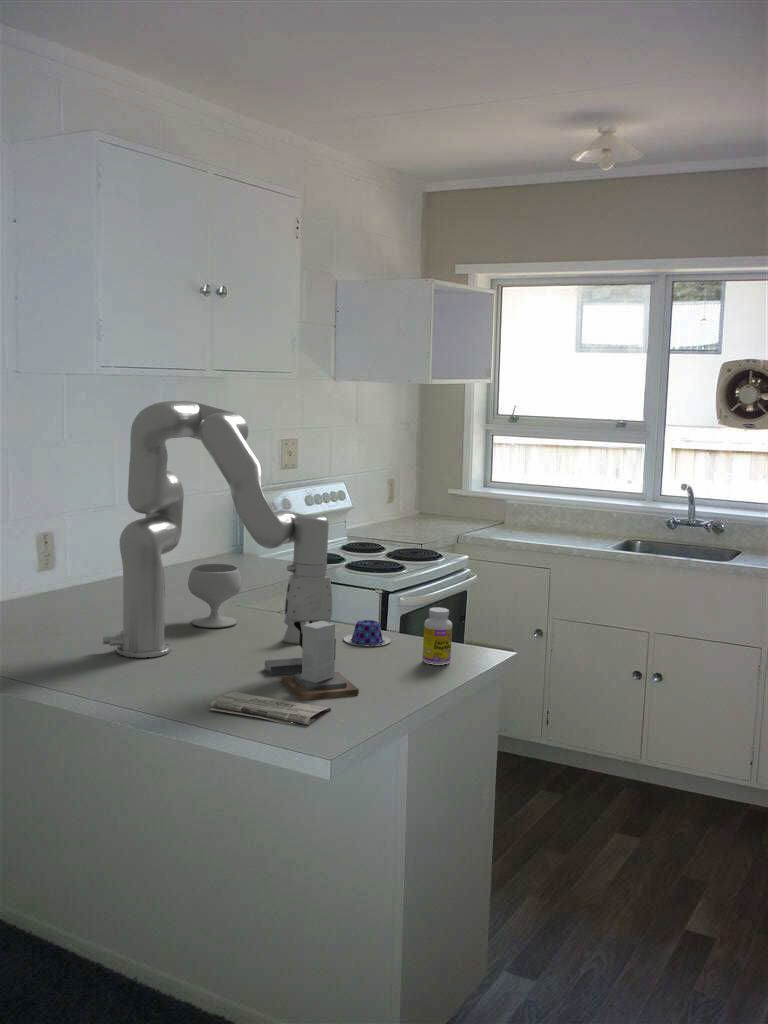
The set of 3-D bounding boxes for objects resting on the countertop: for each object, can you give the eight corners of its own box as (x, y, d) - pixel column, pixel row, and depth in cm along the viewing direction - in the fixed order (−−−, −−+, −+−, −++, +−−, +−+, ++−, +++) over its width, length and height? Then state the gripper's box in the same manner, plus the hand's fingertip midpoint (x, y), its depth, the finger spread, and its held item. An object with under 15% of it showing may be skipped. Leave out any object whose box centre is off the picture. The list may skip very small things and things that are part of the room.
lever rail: (270, 675, 224) (270, 666, 224) (264, 669, 229) (264, 660, 228) (334, 670, 230) (334, 661, 230) (327, 664, 234) (327, 655, 234)
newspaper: (204, 714, 199) (205, 701, 199) (235, 702, 211) (236, 690, 211) (307, 732, 191) (308, 719, 191) (334, 719, 202) (335, 707, 202)
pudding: (333, 642, 254) (334, 622, 254) (362, 633, 264) (363, 614, 263) (371, 651, 248) (372, 630, 247) (400, 642, 257) (400, 622, 256)
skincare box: (320, 673, 220) (321, 620, 218) (334, 677, 217) (336, 623, 215) (300, 679, 215) (302, 624, 213) (315, 683, 212) (316, 628, 211)
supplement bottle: (431, 667, 235) (433, 613, 233) (417, 660, 240) (419, 607, 239) (455, 664, 238) (458, 611, 236) (441, 657, 244) (443, 605, 242)
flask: (307, 645, 250) (308, 606, 248) (278, 643, 251) (279, 603, 250) (314, 638, 257) (315, 600, 255) (287, 636, 258) (288, 597, 257)
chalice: (227, 615, 277) (228, 561, 275) (249, 626, 266) (250, 570, 264) (179, 620, 270) (179, 565, 268) (200, 632, 258) (200, 574, 256)
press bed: (299, 700, 208) (300, 690, 208) (281, 681, 220) (281, 672, 220) (358, 694, 213) (358, 685, 213) (337, 676, 225) (338, 667, 225)
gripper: (282, 574, 220) (279, 655, 223) (346, 572, 226) (342, 651, 228) (273, 567, 227) (270, 646, 230) (335, 565, 233) (332, 643, 235)
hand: (306, 648), depth 229 cm, fingers closed
